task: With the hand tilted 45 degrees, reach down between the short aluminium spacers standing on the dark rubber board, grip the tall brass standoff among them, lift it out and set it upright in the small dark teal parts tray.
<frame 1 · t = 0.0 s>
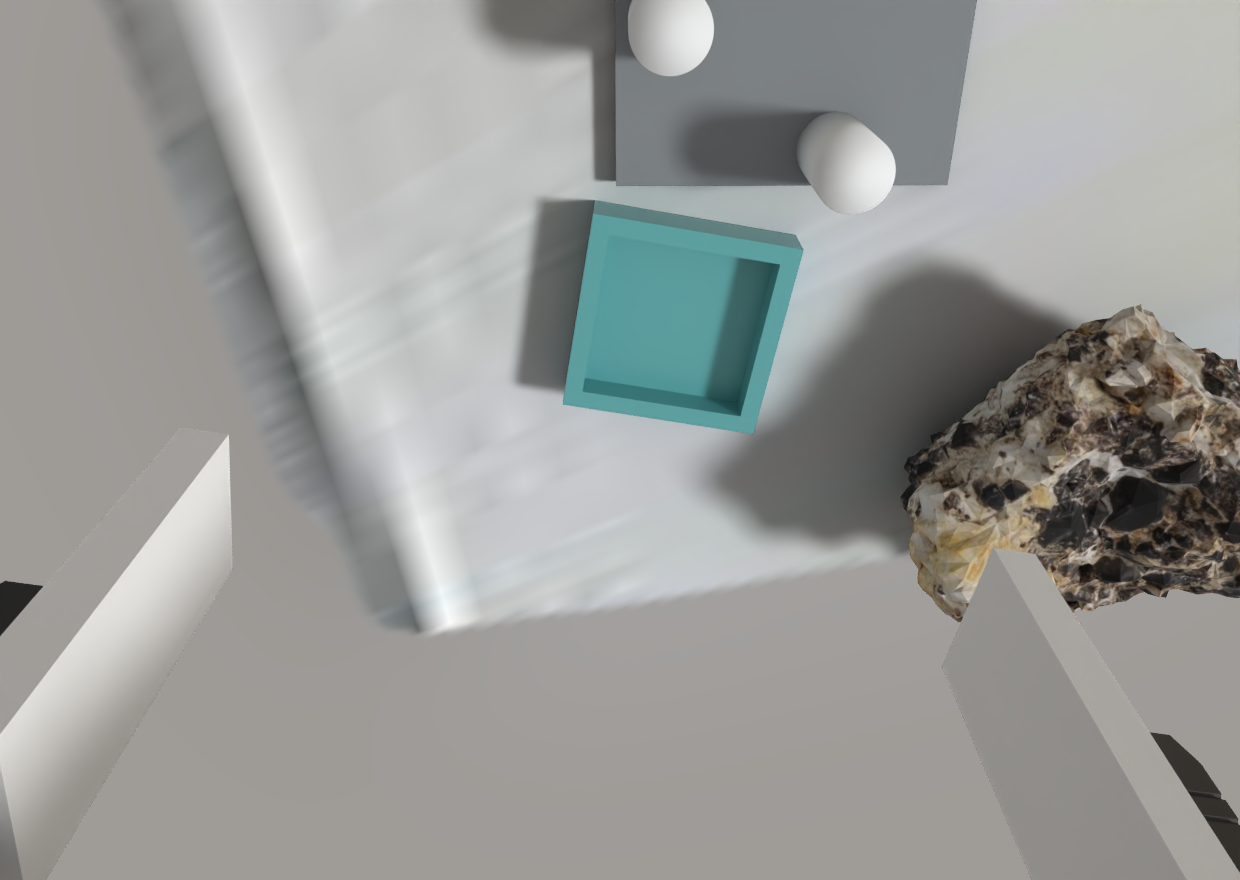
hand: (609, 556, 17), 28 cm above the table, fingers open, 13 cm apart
mineral specimen: (1048, 419, 47), on the table
tray: (675, 312, 44), on the table
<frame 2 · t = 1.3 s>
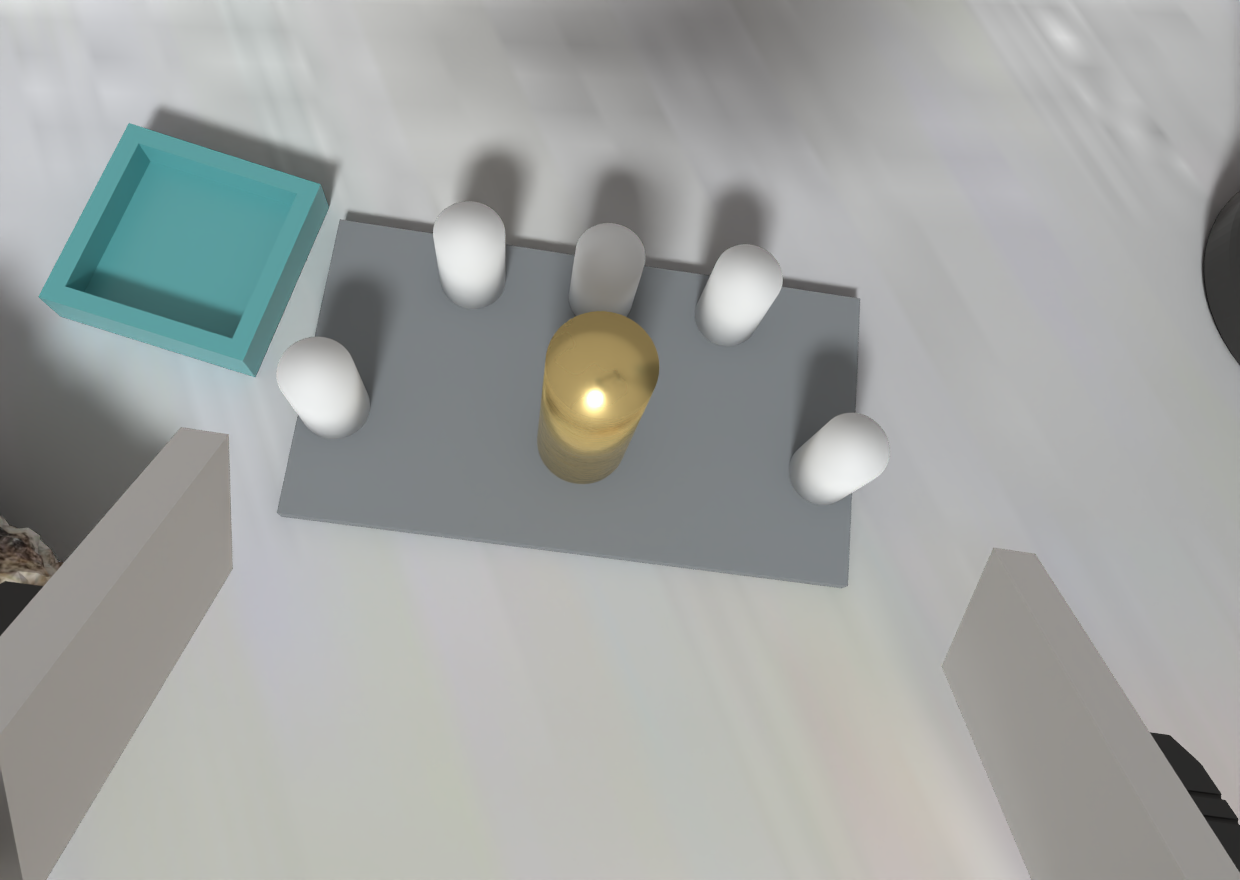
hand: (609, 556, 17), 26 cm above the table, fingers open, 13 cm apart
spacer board: (586, 403, 44), on the table
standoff: (581, 440, 43), point 1 cm above the table, touching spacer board
tray: (199, 260, 44), on the table
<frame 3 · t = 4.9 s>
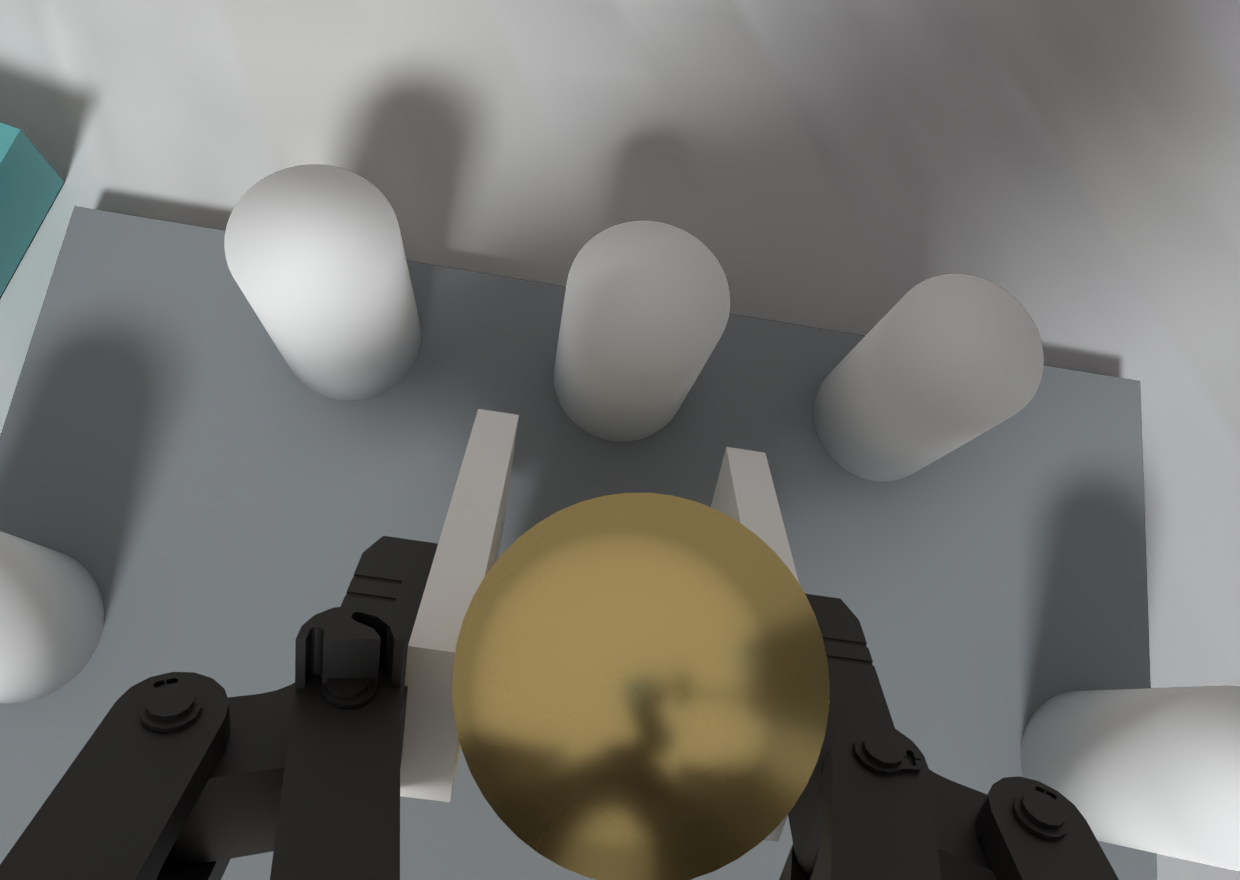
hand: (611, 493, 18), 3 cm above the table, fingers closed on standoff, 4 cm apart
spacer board: (587, 603, 21), on the table
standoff: (575, 697, 20), point 1 cm above the table, touching gripper, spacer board
when the fingers open (5 cm above the table, at t = 9.9 s): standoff drops 2 cm, resting on tray.
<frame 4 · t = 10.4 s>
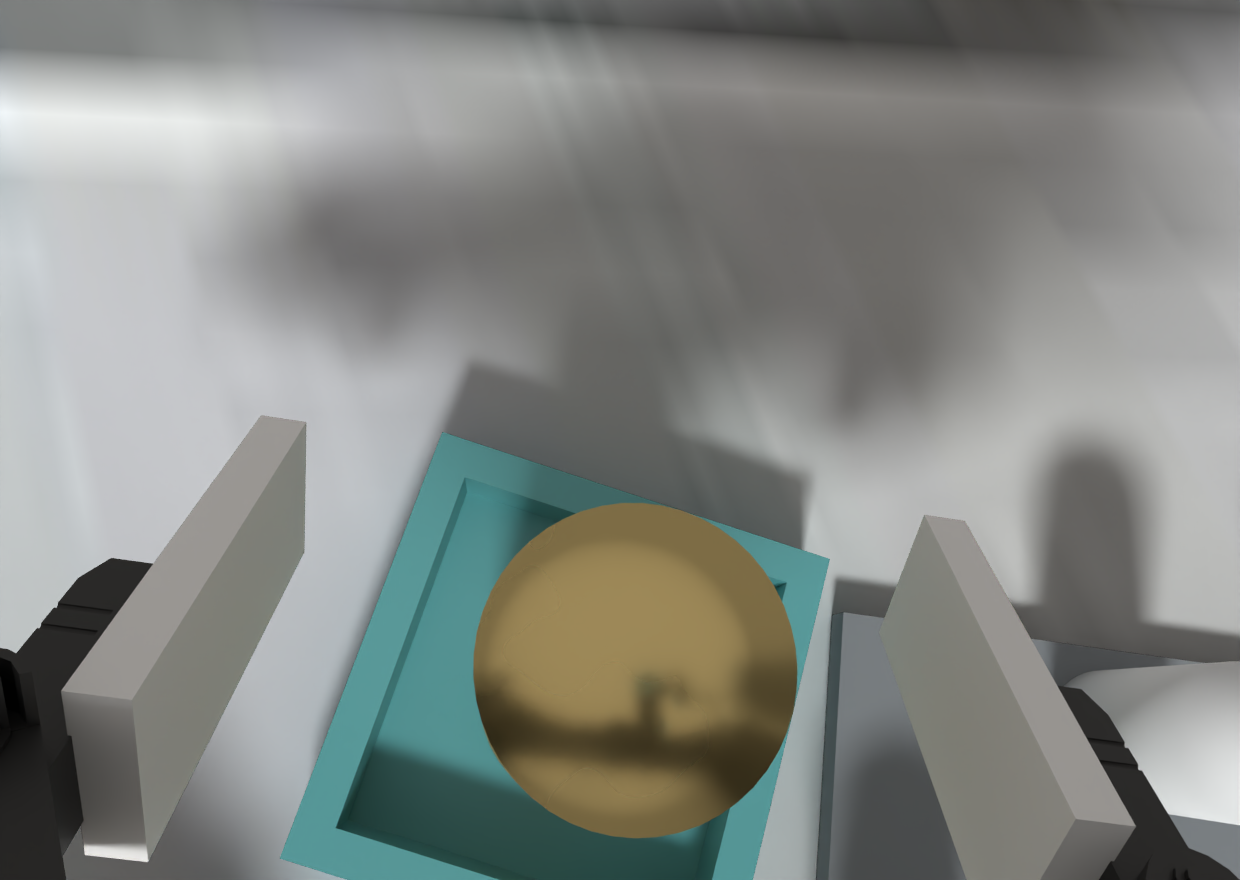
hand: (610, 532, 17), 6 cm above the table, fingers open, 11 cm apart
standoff: (573, 702, 21), point 1 cm above the table, touching tray
tray: (568, 699, 22), on the table
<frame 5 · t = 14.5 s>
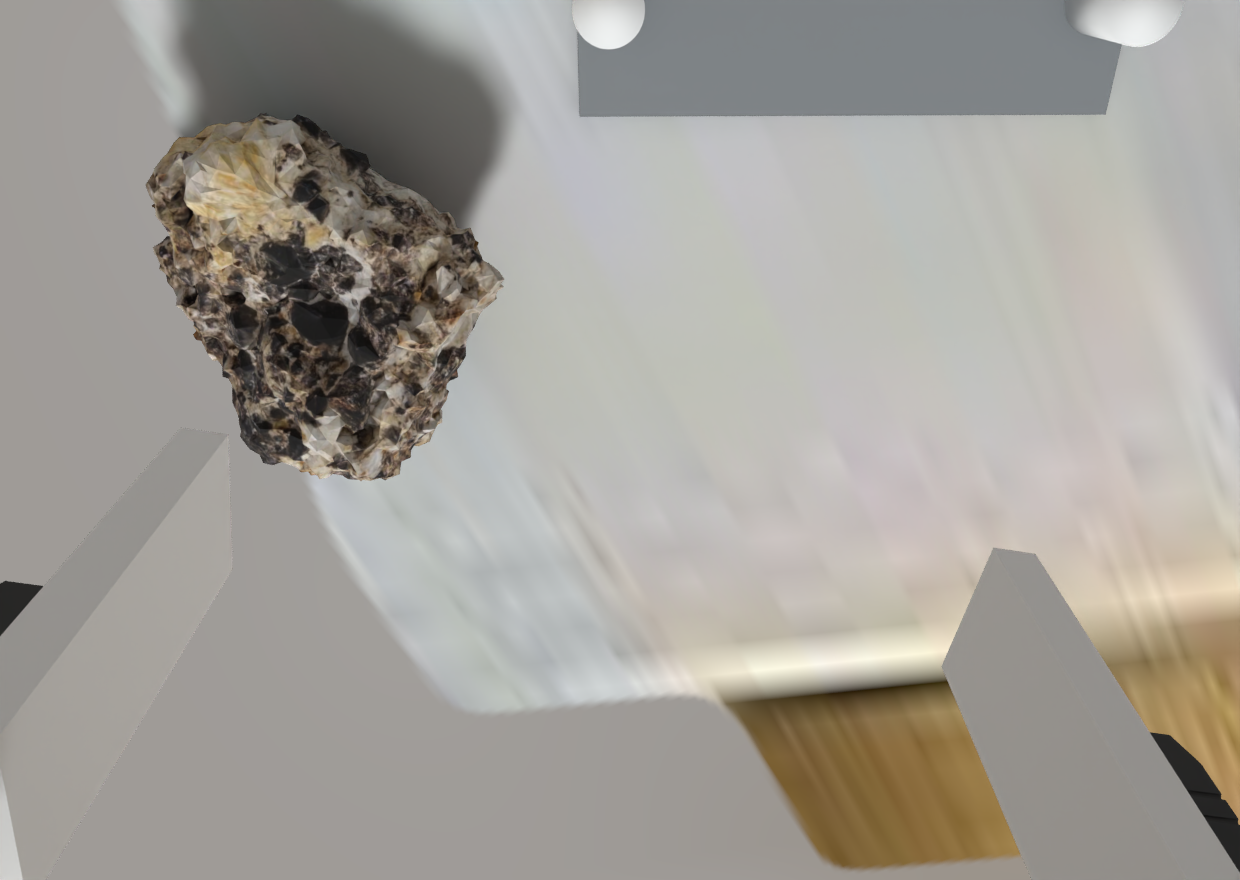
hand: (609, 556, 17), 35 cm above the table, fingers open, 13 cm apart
mineral specimen: (359, 255, 50), on the table
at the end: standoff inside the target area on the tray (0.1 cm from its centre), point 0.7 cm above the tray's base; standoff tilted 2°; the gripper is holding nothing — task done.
